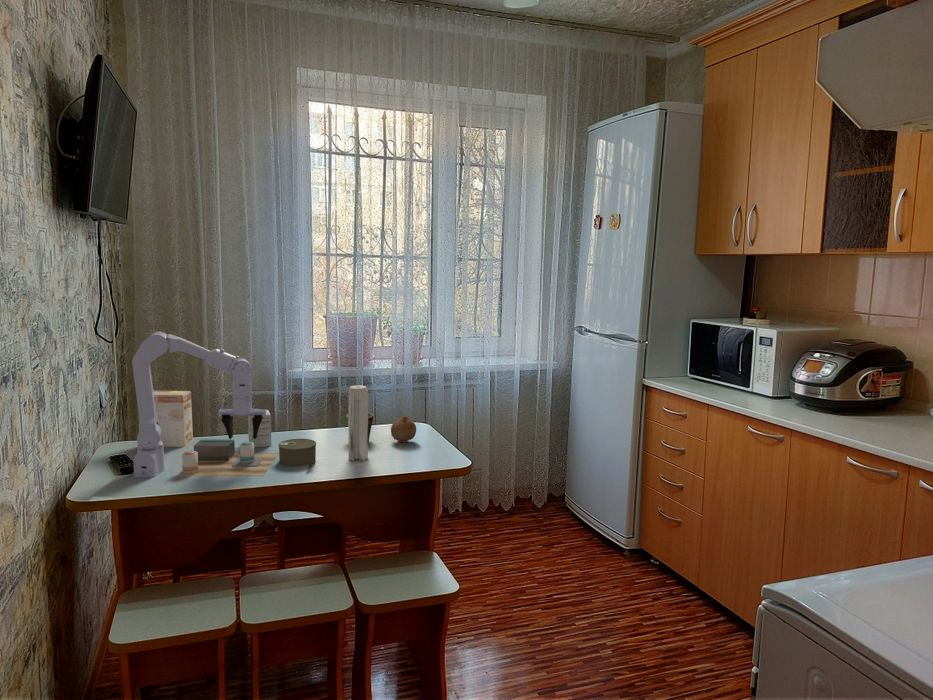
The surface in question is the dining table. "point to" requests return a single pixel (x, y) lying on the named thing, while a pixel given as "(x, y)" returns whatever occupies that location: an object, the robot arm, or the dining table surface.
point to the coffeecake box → (174, 417)
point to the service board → (234, 467)
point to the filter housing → (215, 449)
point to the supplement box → (261, 431)
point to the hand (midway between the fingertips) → (243, 437)
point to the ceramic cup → (370, 420)
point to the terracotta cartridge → (190, 462)
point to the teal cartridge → (246, 452)
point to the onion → (403, 429)
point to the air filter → (358, 422)
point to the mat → (255, 463)
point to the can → (297, 452)
